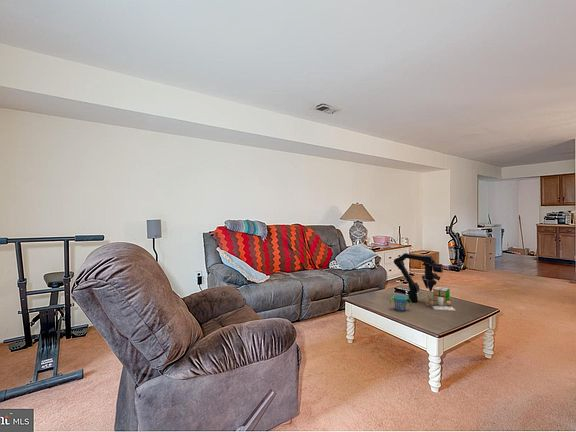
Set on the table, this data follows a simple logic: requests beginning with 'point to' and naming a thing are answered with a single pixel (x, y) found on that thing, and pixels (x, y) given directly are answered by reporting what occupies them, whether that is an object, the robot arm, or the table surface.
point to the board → (443, 308)
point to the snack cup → (400, 302)
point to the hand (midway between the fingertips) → (428, 289)
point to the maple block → (429, 300)
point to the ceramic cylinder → (440, 301)
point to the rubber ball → (448, 303)
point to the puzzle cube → (441, 294)
